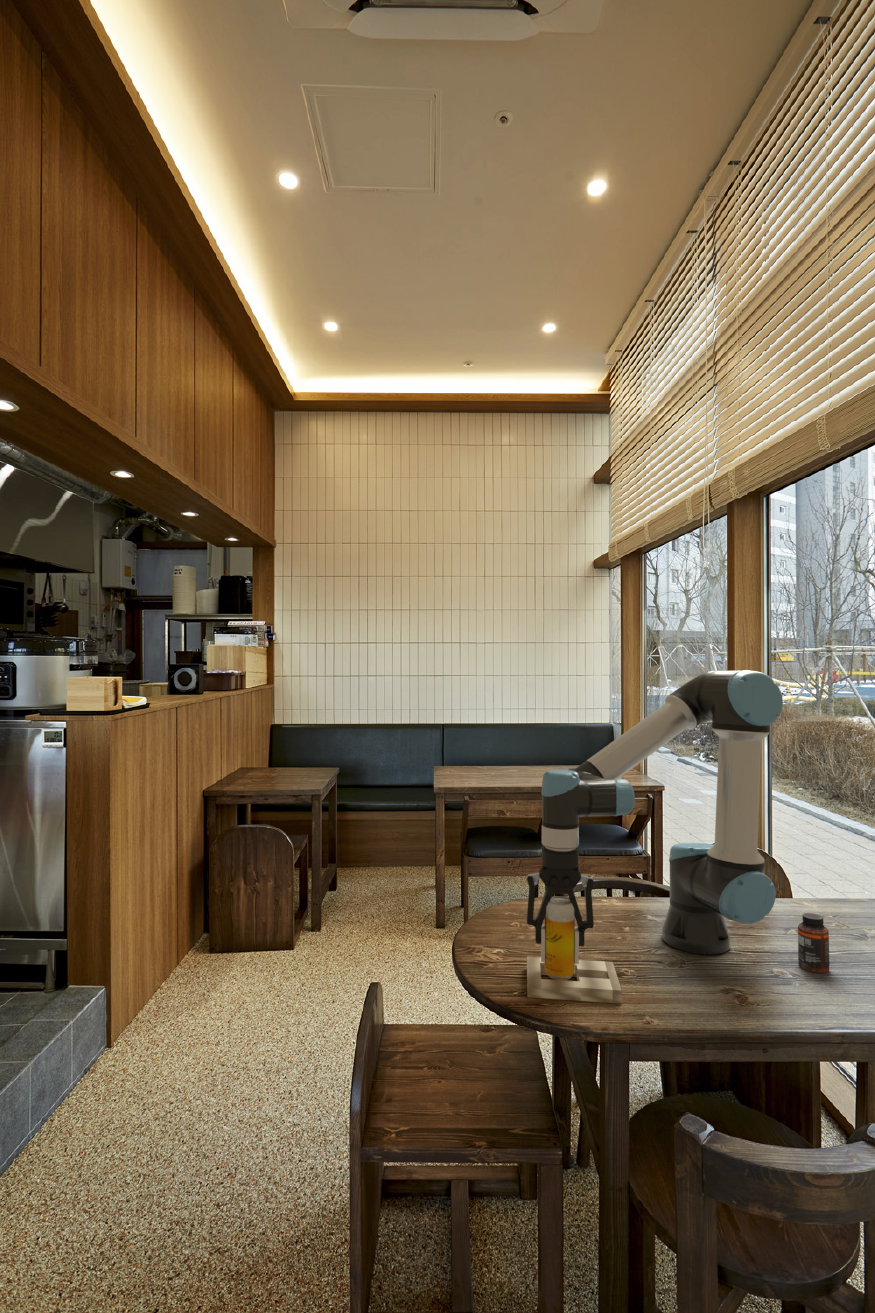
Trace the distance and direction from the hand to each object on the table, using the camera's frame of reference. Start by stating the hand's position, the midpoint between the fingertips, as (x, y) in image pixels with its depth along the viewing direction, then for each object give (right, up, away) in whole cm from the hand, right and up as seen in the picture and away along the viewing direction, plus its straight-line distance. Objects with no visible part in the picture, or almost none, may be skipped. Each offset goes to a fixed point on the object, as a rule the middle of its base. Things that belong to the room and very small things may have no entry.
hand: (559, 960), depth 136 cm
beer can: (0, -3, 0) cm, 3 cm away
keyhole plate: (+2, -5, 0) cm, 5 cm away
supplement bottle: (+57, -6, +9) cm, 58 cm away
